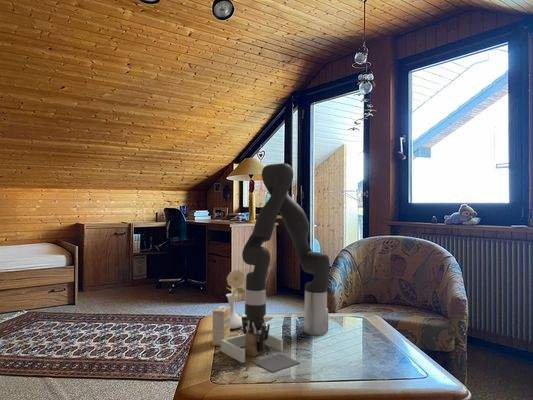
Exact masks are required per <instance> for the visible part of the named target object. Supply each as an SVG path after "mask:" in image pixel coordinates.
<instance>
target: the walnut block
mask: <svg viewBox="0 0 533 400" xmlns="http://www.w3.org/2000/svg"><path fill="white" fill-rule="evenodd" d="M260 331H261V330H260ZM260 331H257V332H260ZM259 337H261V334H259ZM264 337H265V335H264ZM244 350H245V354H248V355H250V356H252V357H255V356H259V355H263V354H266V353H265V352H266V345H265V341H263V351H262V352H257V335H255V333H254V331H251V332H246V333H245V346H244Z"/></svg>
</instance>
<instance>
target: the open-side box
mask: <svg viewBox="0 0 533 400" xmlns="http://www.w3.org/2000/svg"><path fill="white" fill-rule="evenodd" d="M265 346H268V347H270V348H272V349H274V350H277V351H278V352H283V351H284V340H283V339H282V338H279V337H277V336H275V335H272V334H268V339H267V340H265ZM242 347H245V334H244V333H243V334H240V335H236V336H230V338H227V339H223V340H221V346H220V352H221V353H224V354H226V355H227V356H229V357H231V358H232V359H234V360H236V361H238V362H240V363H242V364H243V363H246V352H245V348H242Z"/></svg>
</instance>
